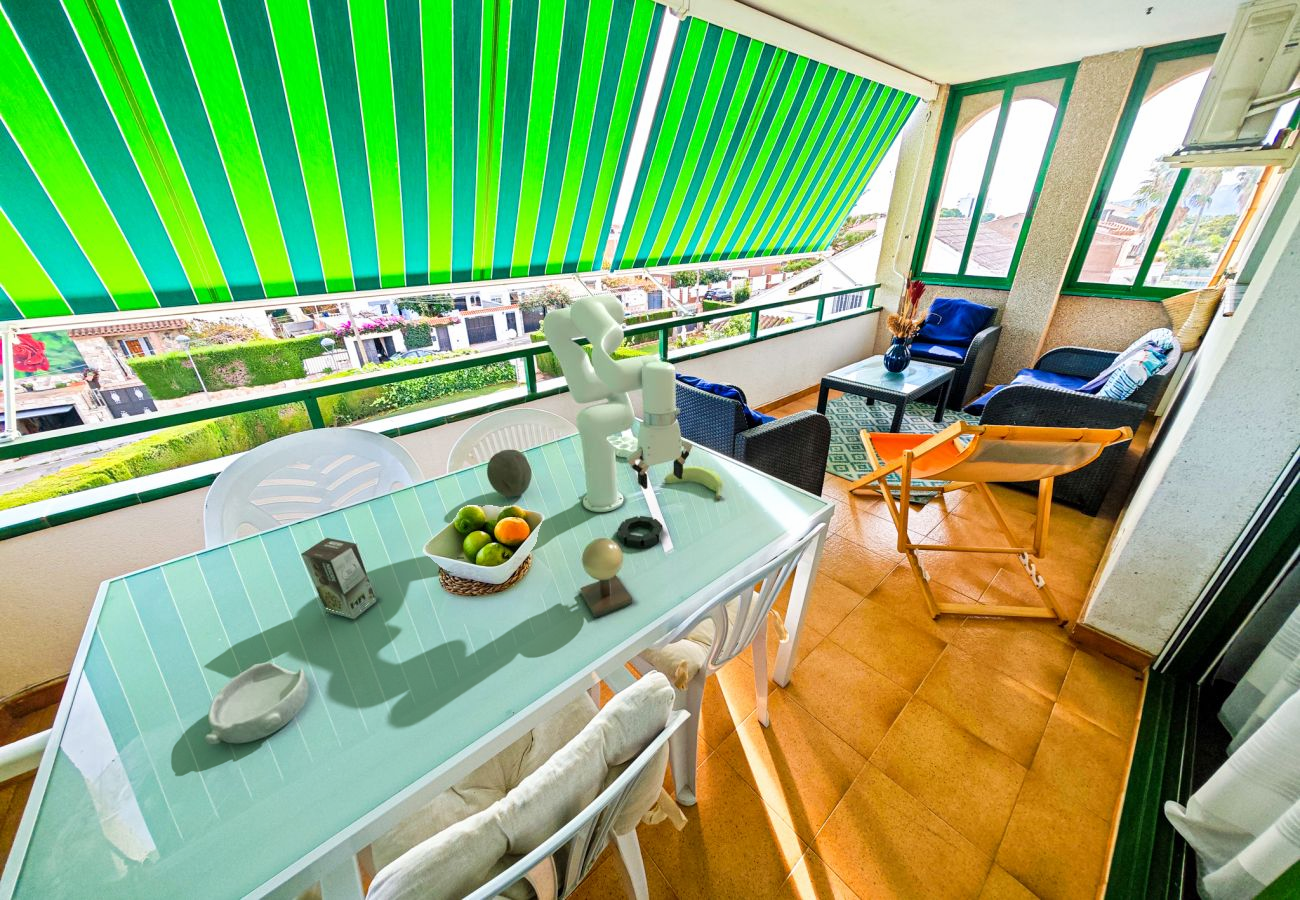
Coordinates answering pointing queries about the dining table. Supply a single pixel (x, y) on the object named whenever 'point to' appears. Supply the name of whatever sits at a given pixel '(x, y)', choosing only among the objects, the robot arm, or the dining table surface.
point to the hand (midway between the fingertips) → (660, 481)
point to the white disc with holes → (624, 445)
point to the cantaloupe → (509, 473)
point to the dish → (256, 703)
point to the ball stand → (604, 577)
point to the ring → (637, 540)
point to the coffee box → (339, 577)
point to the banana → (698, 478)
